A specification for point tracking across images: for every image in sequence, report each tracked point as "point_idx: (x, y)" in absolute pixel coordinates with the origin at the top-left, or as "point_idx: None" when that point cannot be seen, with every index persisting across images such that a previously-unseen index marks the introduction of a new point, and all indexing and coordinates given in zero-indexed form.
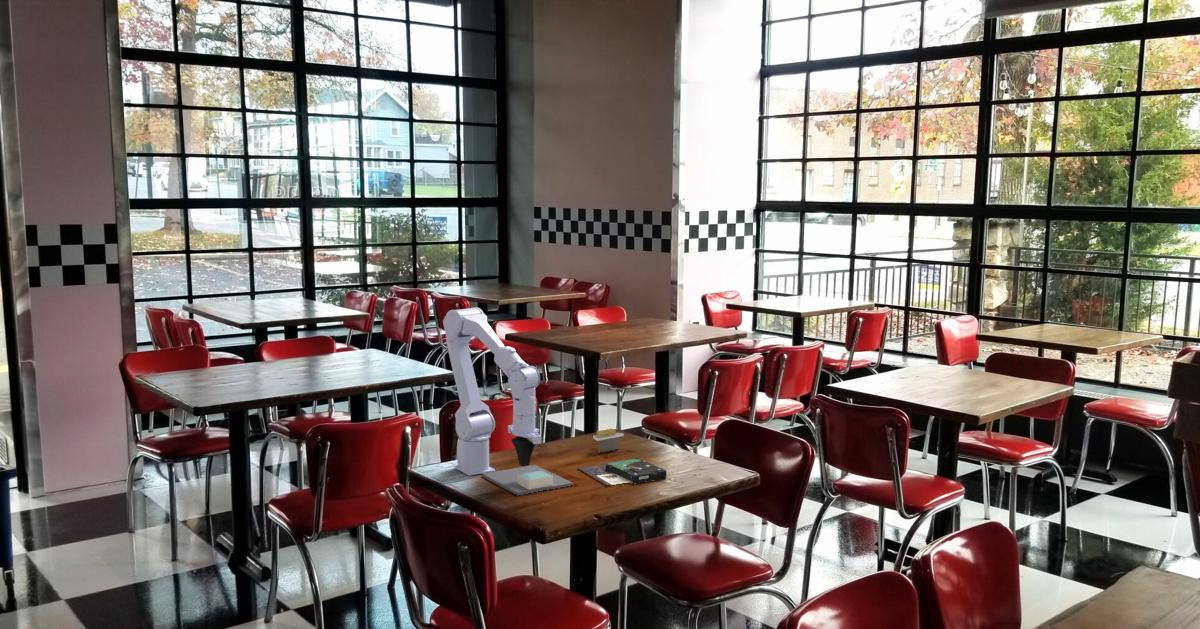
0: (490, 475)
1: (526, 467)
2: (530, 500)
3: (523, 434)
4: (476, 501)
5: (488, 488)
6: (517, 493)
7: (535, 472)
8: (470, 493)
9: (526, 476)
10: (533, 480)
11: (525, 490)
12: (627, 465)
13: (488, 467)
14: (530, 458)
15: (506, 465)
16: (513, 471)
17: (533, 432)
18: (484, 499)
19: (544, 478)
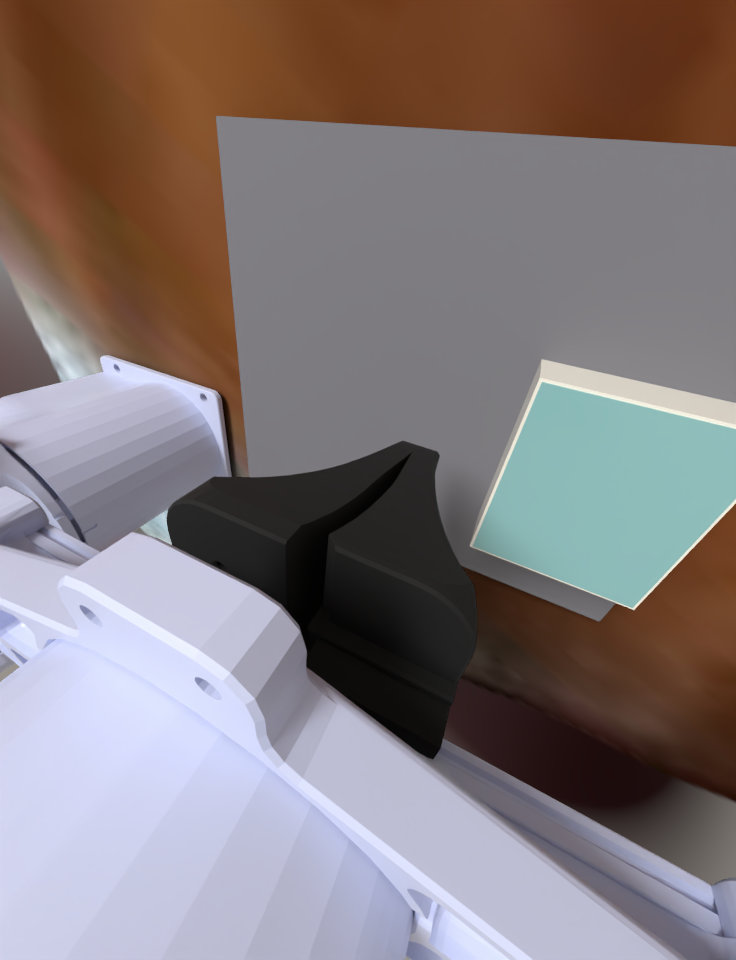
0: None
1: (245, 230)
2: (729, 642)
3: (415, 958)
4: (495, 692)
5: None
6: (594, 615)
7: (536, 451)
8: None
9: (553, 556)
10: (654, 582)
11: None
12: None
13: (192, 413)
14: (433, 471)
15: (144, 266)
16: (282, 361)
17: (426, 911)
18: (501, 672)
19: (720, 512)
